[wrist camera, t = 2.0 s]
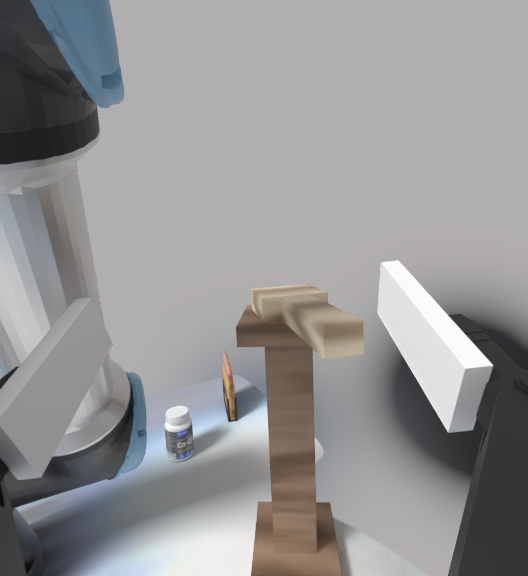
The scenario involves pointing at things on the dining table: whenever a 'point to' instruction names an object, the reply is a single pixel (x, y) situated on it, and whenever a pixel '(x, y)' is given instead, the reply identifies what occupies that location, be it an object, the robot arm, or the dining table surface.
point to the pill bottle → (179, 434)
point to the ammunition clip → (229, 390)
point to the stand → (289, 460)
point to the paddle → (311, 318)
